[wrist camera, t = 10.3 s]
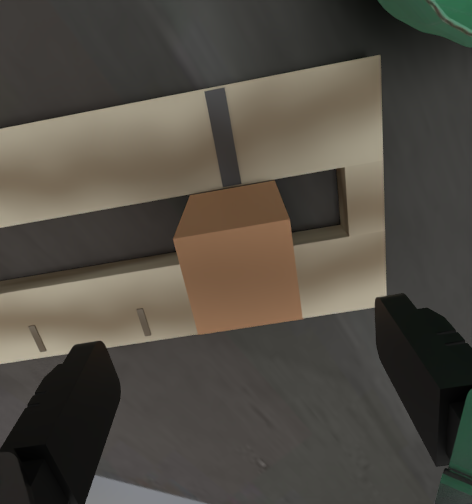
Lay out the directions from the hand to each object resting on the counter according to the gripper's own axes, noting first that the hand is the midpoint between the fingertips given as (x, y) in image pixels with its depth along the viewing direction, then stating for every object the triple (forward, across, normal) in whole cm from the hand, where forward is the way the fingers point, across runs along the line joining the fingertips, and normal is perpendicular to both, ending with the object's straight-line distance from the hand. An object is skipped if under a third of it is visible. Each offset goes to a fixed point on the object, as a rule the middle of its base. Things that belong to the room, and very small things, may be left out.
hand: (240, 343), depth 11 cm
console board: (+13, +7, 0) cm, 15 cm away
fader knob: (+13, 0, 0) cm, 13 cm away
